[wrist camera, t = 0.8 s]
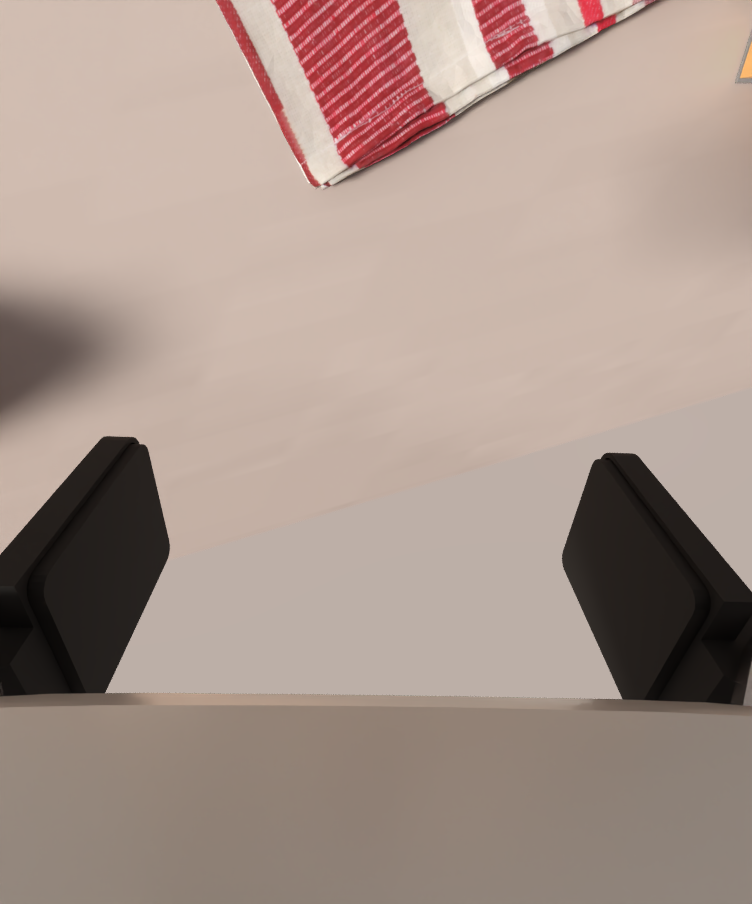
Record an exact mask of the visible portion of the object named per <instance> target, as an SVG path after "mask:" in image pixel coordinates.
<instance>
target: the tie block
mask: <svg viewBox="0 0 752 904" xmlns="http://www.w3.org/2000/svg"><path fill="white" fill-rule="evenodd" d="M740 78H752V42H751V45H750V48H749V51H748V54H747V57H746V60H745V63H744V67H743V70H742V73H741V76H740Z"/></svg>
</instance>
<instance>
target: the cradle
mask: <svg viewBox="0 0 752 904" xmlns="http://www.w3.org/2000/svg"><path fill="white" fill-rule="evenodd" d="M751 42H752V31H751V35H750V38H749V41H748V44H747V47H746V50H745V53H744V56H743V59H742V63H741V66H740V69H739V72H738V75H737V78H736V81H735V83H752V78H740V76H741V73H742V70H743V67H744V63H745V60H746V57H747V54H748V51H749V48H750V45H751Z"/></svg>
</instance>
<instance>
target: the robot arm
mask: <svg viewBox="0 0 752 904" xmlns="http://www.w3.org/2000/svg"><path fill="white" fill-rule="evenodd" d="M169 550H170V544H169V538H168V534H167V530H166V525H165V521H164V517H163V512H162V508H161V504H160V499H159V495H158V491H157V486H156V482H155V478H154V474H153V469H152V465H151V461H150V456H149V452H148V449H147V447H146V446H145V445H142V444H139V442H138V441H137V439H136V438H134V437H111V436H106V437H103V438H102V439H100V441H99V442H98V443H97V444H96V445H95V446H94V448H93V449H92V450H91V451H90V452H89V453H88V454H87V456H86V457H85V458H84V459H83V460H82V461H81V462H80V464H79V465H78V466H77V467H76V468H75V469H74V471H73V472H72V473H71V474H70V475H69V476H68V477H67V479H66V480H65V481H64V482H63V483H62V484H61V486H60V487H59V488H58V489H57V490H56V491H55V492H54V494H53V495H52V496H51V497H50V498H49V499H48V500H47V502H46V503H45V504H44V505H43V506H42V507H41V509H40V510H39V511H38V512H37V513H36V514H35V515H34V517H33V518H32V519H31V520H30V521H29V522H28V524H27V525H26V526H25V527H24V528H23V529H22V530H21V532H20V533H19V534H18V535H17V536H16V537H15V538H14V540H13V541H12V542H11V543H10V544H9V545H8V547H7V548H6V549H5V550H4V551H3V552H2V553H1V555H0V904H752V592H751V591H750V589H749V588H748V587H747V586H746V585H745V583H744V582H743V581H742V580H741V579H740V577H739V576H738V575H737V574H736V573H735V571H734V570H733V569H732V568H731V567H730V566H729V564H728V563H727V562H726V561H725V560H724V558H723V557H722V556H721V555H720V554H719V552H718V551H717V550H716V549H715V548H714V546H713V545H712V544H711V543H710V542H709V541H708V539H707V538H706V537H705V536H704V534H703V533H702V532H701V531H700V530H699V528H698V527H697V526H696V525H695V524H694V523H693V521H692V520H691V519H690V518H689V517H688V515H687V514H686V513H685V512H684V511H683V509H682V508H681V507H680V506H679V505H678V504H677V502H676V501H675V500H674V499H673V498H672V496H671V495H670V494H669V493H668V491H667V490H666V489H665V488H664V487H663V486H662V484H661V483H660V482H659V481H658V480H657V478H656V477H655V476H654V475H653V474H652V473H651V471H650V470H649V469H648V468H647V466H646V465H645V464H644V463H643V462H642V460H641V459H640V458H639V457H638V456H637V455H636V454H629V453H606V454H604V455H603V456H602V458H601V459H597V460H595V461H594V463H593V464H592V467H591V470H590V473H589V476H588V479H587V482H586V485H585V488H584V491H583V494H582V497H581V500H580V503H579V506H578V509H577V511H576V514H575V518H574V520H573V524H572V527H571V529H570V532H569V535H568V538H567V541H566V544H565V547H564V550H563V554H562V563H563V567H564V570H565V572H566V575H567V577H568V579H569V581H570V583H571V585H572V588H573V590H574V592H575V594H576V597H577V599H578V601H579V603H580V606H581V608H582V610H583V612H584V615H585V617H586V619H587V621H588V623H589V626H590V628H591V630H592V632H593V634H594V637H595V639H596V641H597V643H598V646H599V647H600V650H601V652H602V654H603V657H604V659H605V661H606V663H607V665H608V667H609V669H610V672H611V674H612V676H613V679H614V681H615V683H616V685H617V687H618V690H619V692H620V694H621V696H622V699H623V700H622V699H575V698H570V699H569V698H520V697H468V696H400V695H398V696H397V695H396V696H395V695H323V694H321V695H320V694H317V695H316V694H215V693H214V694H211V693H208V694H207V693H205V694H204V693H201V694H200V693H105V692H106V690H107V688H108V685H109V683H110V681H111V679H112V677H113V675H114V673H115V671H116V668H117V666H118V664H119V662H120V660H121V657H122V656H123V653H124V651H125V649H126V647H127V645H128V643H129V641H130V638H131V636H132V634H133V632H134V630H135V628H136V625H137V623H138V621H139V619H140V617H141V615H142V613H143V611H144V608H145V606H146V604H147V602H148V600H149V598H150V596H151V594H152V591H153V589H154V587H155V585H156V583H157V580H158V579H159V576H160V574H161V572H162V570H163V568H164V566H165V564H166V561H167V559H168V556H169Z"/></svg>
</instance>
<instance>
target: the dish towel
mask: <svg viewBox="0 0 752 904" xmlns="http://www.w3.org/2000/svg"><path fill="white" fill-rule="evenodd" d="M215 1H216V2H217V4H218V6H219V8H220V10H221V12H222V13H223V15H224V17H225V19H226V21H227V23H228V25H229V28H230V30H231V32H232V34H233V36H234V38H235V40H236V41H237V43H238V45H239V47H240V49H241V51H242V54H243V56H244V58H245V60H246V62H247V64H248V66H249V68H250V70H251V72H252V74H253V76H254V78H255V80H256V82H257V84H258V86H259V88H260V89H261V91H262V94H263V96H264V98H265V100H266V101H267V103H268V105H269V107H270V109H271V111H272V113H273V115H274V117H275V119H276V121H277V123H278V125H279V127H280V128H281V130H282V132H283V134H284V136H285V138H286V140H287V142H288V144H289V146H290V148H291V150H292V152H293V154H294V156H295V158H296V160H297V162H298V164H299V166H300V168H301V170H302V172H303V174H304V176H305V178H306V180H307V181H308V183H309V184H312V186H313V187H314V188H315V189H317V188H318V187H321V188H322V189H326V188H328V187H329V186H331V185H334V184H336V183H337V182H339V181H341V180H343V179H344V178H346V177H348V176H349V175H352V174H354V173H356V172H358V171H360V170H361V169H364V168H366V167H368V166H370V165H372V164H374V163H377V162H379V161H381V160H382V159H384V158H386V157H388V156H390V155H392V154H394V153H395V152H397V151H399V150H400V149H403V148H405V147H407V146H408V145H409V144H411V143H412V142H414V141H415V140H417V139H418V138H420V137H421V136H424V135H426V134H428V133H430V132H431V131H433V130H435V129H437V128H439V127H440V126H442V125H444V124H446V123H447V122H448V121H449V120H451V119H452V118H454V117H455V116H457V115H459V114H460V113H461V112H463V111H464V110H466V109H467V108H468V107H470V106H471V105H473V104H474V103H476V102H478V101H479V100H481V99H482V98H484V97H486V96H488V95H489V94H491V93H493V92H495V91H496V90H498V89H500V88H501V87H503V86H505V85H507V84H508V83H510V82H511V81H513V80H514V79H516V78H518V77H519V76H521V75H523V74H525V73H527V72H529V71H531V70H533V69H535V68H537V67H538V66H540V65H542V64H543V63H545V62H546V61H548V60H550V59H552V58H554V57H556V56H558V55H559V54H561V53H563V52H565V51H566V50H568V49H570V48H571V47H573V46H575V45H577V44H579V43H581V42H583V41H585V40H587V39H588V38H590V37H592V36H593V35H595V34H597V33H599V32H600V31H601V30H603V29H605V28H607V27H609V26H611V25H613V24H615V23H617V22H619V21H621V20H623V19H625V18H627V17H628V16H630V15H632V14H634V13H635V12H637V11H639V10H640V9H642V8H644V7H645V6H647V5H648V4H650V3H652V2H654V1H656V0H215Z"/></svg>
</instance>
